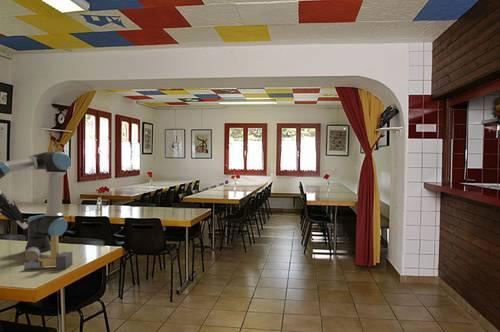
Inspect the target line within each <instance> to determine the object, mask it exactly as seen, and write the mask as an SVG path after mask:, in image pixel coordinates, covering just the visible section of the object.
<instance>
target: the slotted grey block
mask: <svg viewBox="0 0 500 332" xmlns="http://www.w3.org/2000/svg"><path fill="white" fill-rule="evenodd" d="M72 266H73V251H62V252H61V253H59V255H58V256H56V266H55V270H58V271H60V270H61V271H62V270H67V269H69V268H70V267H72Z"/></svg>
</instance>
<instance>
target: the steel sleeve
mask: <svg viewBox="0 0 500 332" xmlns="http://www.w3.org/2000/svg"><path fill="white" fill-rule="evenodd" d="M45 267H46V266H41V262H38V259H30V260H29V262H28V261H25V262H24V263H23V270H24V271H39V270H42V269H43V268H45Z"/></svg>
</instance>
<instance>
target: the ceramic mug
mask: <svg viewBox="0 0 500 332" xmlns="http://www.w3.org/2000/svg"><path fill="white" fill-rule="evenodd" d="M41 257H46V256H45V255H43V254H41V252H40V250H39V249H38V248H37V247H30V248H28V249H27V251H26V252H25V255H24V259H25V262H29V260H30V259H39V258H41Z"/></svg>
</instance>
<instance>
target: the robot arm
mask: <svg viewBox="0 0 500 332" xmlns="http://www.w3.org/2000/svg"><path fill="white" fill-rule="evenodd" d="M71 164H72V163H71V158H70V156H69V155H68V153H66V152H63V151H45V152H40V153H36V154H33V155H29V156H27V157H24V158H18V159H12V160H6V161H0V180H1V179H2V178H3V177H5V176H6V175H9V174H14V173H18V172H23V171H29V170H31V171H36V170H37V171H38V170H45V171H46V174H47V175H48V178H47V179H48V181H47V182H48V184H47V197H46V199H47V200H46V212H45V213H44V214H39V215H34V216H33V215H32V216H29V217H28V218H27V222H26V221H25V220H24V218H22V216H23V214H22V212H21V211H20V209H19V208H18V205H16V202H15V201H13V200H12V201H10V200H9V199H7V198H8V197H7V196H6V195H5V193H3V192H2V190H1V189H0V215H2V216H3V217H4V218H6V219H7V220H8V221H10V222H15V223H16V224H17V225H19V226H20V227H21V228H22V229H23V230H25V229H27V242H26V244H25V247H24V248H25V249H24V252H25V253H26V251H27V249H28V248H30V247H37V248H38V249H39V250H40V253H44V252H49V251H51V240H50V239H49V236H50V237H51V236H53V235H58V237H59V236H62V235H63V234H64V233H65V232H66V231H67V229H68V221H67V220H66V219H65V218H64V217H65V215H64V213H62V209H63V208H62V206H63V191H64V190H63V189H64V188H63V186H64V176H65V175H66V173H67V170H68V169H69V168H70V167H71Z"/></svg>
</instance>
